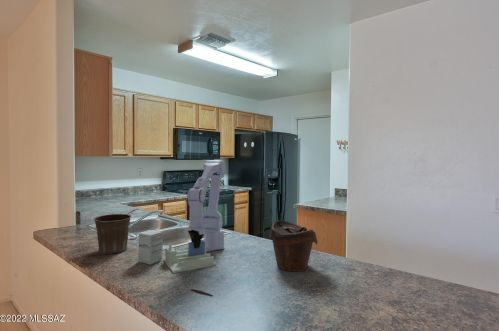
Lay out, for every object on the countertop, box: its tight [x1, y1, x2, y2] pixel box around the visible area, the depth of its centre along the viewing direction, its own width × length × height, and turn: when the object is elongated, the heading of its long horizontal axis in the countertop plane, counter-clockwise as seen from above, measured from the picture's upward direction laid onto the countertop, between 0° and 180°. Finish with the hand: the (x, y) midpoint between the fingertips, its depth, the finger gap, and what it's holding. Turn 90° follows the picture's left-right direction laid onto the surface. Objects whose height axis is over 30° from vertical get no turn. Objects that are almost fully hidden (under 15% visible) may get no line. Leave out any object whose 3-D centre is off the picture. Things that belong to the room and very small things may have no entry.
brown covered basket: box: [269, 220, 318, 272], centre depth 121 cm, size 18×20×18 cm
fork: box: [173, 279, 214, 297], centre depth 98 cm, size 3×16×2 cm, turn 62°
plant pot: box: [93, 213, 132, 255], centre depth 139 cm, size 16×16×16 cm
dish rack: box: [162, 243, 217, 274], centre depth 124 cm, size 18×16×8 cm
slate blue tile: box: [187, 240, 205, 257], centre depth 125 cm, size 7×2×6 cm, turn 120°
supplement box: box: [137, 229, 164, 265], centre depth 125 cm, size 7×7×13 cm
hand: (195, 247), depth 125 cm, fingers closed on slate blue tile, 2 cm apart
